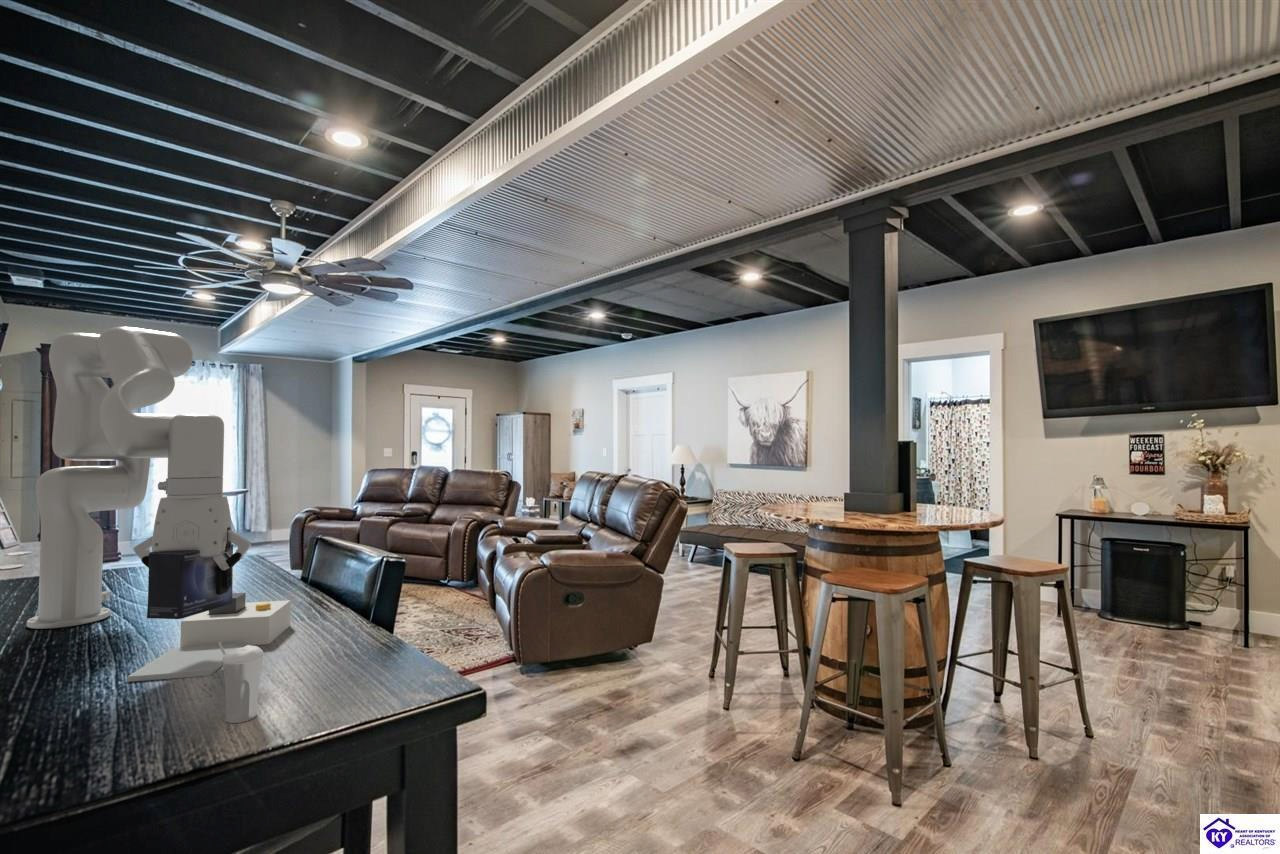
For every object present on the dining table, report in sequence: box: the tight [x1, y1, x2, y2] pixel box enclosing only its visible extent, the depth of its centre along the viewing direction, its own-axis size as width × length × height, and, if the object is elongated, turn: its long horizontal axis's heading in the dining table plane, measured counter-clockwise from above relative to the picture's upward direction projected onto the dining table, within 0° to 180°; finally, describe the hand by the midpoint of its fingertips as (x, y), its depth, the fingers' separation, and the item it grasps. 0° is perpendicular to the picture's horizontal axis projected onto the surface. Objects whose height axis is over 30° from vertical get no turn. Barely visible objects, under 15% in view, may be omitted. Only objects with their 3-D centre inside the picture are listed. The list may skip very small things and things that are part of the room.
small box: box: [146, 543, 234, 620], centre depth 101 cm, size 11×6×10 cm, turn 172°
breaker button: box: [209, 592, 247, 615], centre depth 115 cm, size 4×4×6 cm
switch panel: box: [179, 599, 292, 647], centre depth 115 cm, size 12×14×6 cm
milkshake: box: [218, 642, 265, 724], centre depth 81 cm, size 4×5×10 cm
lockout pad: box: [126, 643, 245, 683], centre depth 101 cm, size 14×11×1 cm
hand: (192, 594), depth 101 cm, fingers closed on small box, 8 cm apart
